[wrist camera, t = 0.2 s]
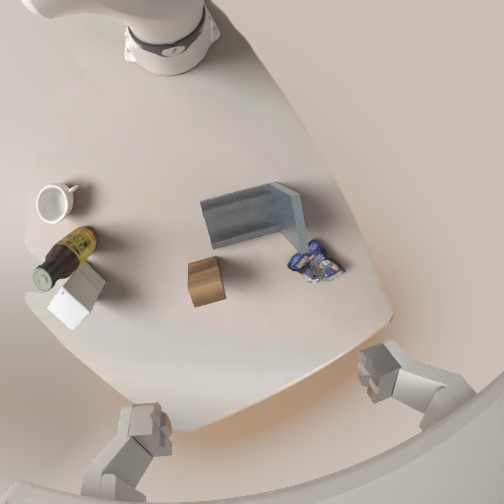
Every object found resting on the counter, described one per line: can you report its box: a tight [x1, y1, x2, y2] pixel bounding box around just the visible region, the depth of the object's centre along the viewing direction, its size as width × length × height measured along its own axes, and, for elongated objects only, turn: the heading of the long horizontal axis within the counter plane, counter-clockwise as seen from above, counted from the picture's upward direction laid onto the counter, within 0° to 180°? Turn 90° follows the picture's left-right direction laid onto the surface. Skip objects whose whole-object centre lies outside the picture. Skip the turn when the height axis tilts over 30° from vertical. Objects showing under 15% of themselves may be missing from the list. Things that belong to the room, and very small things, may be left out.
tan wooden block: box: [188, 256, 226, 307], centre depth 55 cm, size 4×6×11 cm, turn 103°
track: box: [200, 182, 309, 254], centre depth 50 cm, size 10×16×14 cm, turn 103°
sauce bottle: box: [33, 227, 98, 291], centre depth 43 cm, size 7×6×20 cm
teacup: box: [37, 183, 78, 224], centre depth 45 cm, size 10×8×5 cm
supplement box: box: [47, 261, 106, 331], centre depth 49 cm, size 7×7×13 cm
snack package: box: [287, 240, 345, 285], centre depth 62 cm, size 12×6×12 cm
